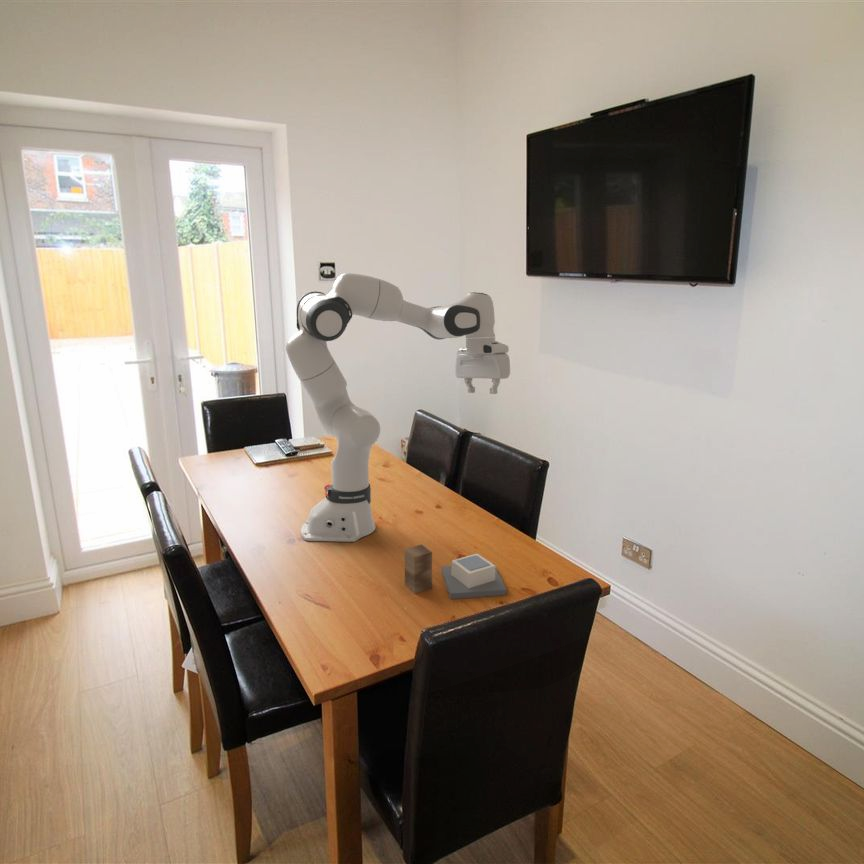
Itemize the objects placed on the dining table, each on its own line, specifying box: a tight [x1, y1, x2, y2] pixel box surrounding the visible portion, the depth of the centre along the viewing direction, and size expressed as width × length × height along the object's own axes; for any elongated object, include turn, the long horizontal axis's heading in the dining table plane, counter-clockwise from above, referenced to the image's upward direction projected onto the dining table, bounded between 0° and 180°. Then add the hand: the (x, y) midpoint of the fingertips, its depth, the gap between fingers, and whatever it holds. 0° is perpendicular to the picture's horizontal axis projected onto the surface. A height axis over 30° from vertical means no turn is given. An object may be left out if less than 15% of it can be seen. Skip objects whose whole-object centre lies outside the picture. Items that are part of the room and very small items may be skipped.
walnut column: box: [403, 544, 433, 595], centre depth 154 cm, size 5×5×10 cm
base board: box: [441, 553, 508, 600], centre depth 156 cm, size 14×14×6 cm
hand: (482, 393), depth 188 cm, fingers open, 8 cm apart
